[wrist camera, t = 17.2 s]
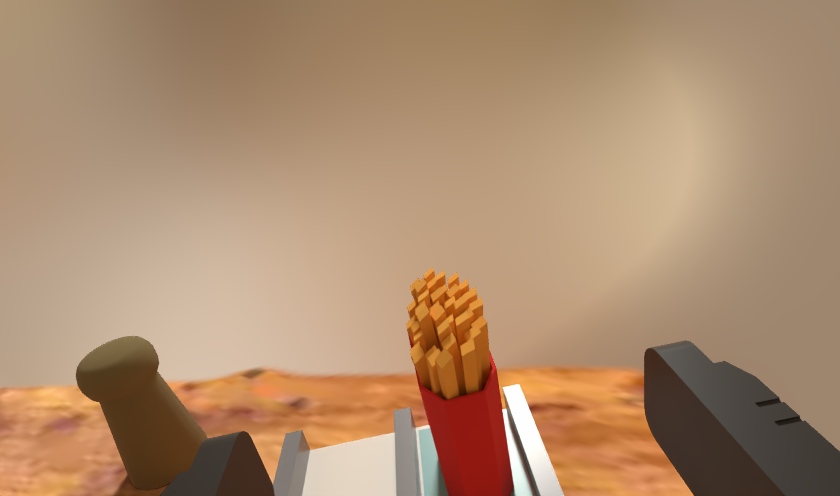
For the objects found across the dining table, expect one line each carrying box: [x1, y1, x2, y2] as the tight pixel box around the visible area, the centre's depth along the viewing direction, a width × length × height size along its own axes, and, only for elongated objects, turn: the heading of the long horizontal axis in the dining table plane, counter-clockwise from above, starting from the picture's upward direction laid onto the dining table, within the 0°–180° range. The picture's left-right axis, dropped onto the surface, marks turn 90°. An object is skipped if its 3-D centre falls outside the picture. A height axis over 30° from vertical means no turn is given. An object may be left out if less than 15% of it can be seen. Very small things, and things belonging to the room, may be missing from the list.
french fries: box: [407, 268, 514, 496], centre depth 28 cm, size 9×4×13 cm, turn 8°
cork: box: [76, 336, 208, 490], centre depth 37 cm, size 6×6×11 cm
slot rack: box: [273, 384, 564, 496], centre depth 30 cm, size 17×10×3 cm, turn 94°
